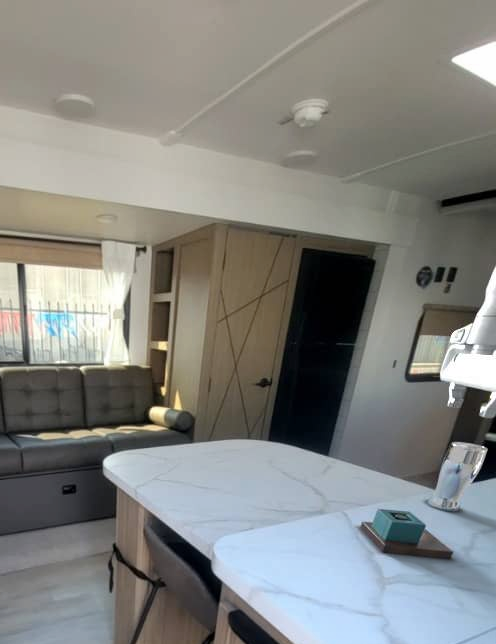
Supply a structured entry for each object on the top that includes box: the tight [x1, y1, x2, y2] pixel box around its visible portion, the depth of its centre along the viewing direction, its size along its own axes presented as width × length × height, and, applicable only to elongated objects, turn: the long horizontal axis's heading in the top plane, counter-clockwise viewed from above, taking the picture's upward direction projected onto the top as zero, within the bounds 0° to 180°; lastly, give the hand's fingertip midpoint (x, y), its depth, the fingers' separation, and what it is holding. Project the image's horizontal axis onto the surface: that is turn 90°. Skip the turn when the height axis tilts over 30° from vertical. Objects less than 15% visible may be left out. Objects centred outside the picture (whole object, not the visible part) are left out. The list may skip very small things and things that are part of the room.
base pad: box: [359, 514, 454, 560], centre depth 79 cm, size 12×10×6 cm
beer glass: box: [427, 441, 488, 512], centre depth 95 cm, size 7×7×15 cm
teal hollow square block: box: [372, 508, 427, 544], centre depth 79 cm, size 6×6×4 cm
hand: (468, 412), depth 79 cm, fingers open, 8 cm apart
